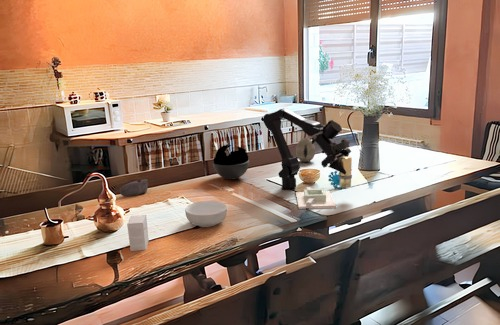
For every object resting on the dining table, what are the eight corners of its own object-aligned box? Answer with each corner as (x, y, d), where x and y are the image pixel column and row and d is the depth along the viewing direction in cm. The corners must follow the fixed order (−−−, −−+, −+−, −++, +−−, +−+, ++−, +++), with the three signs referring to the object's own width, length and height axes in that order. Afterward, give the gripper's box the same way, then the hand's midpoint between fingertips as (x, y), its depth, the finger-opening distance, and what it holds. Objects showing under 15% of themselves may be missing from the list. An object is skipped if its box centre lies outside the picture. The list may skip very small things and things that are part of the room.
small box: (133, 242, 161) (130, 215, 158) (149, 240, 161) (146, 214, 159) (130, 251, 153) (126, 223, 151) (146, 250, 154) (143, 222, 151)
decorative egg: (296, 159, 273) (295, 136, 269) (315, 159, 271) (315, 136, 268) (295, 164, 262) (295, 140, 258) (315, 164, 260) (315, 139, 256)
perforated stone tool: (121, 198, 212) (119, 185, 210) (118, 196, 216) (117, 182, 215) (151, 193, 218) (149, 180, 217) (148, 190, 223) (147, 177, 221)
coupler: (340, 187, 192) (340, 159, 189) (337, 184, 198) (338, 156, 194) (352, 187, 192) (353, 159, 189) (350, 183, 197) (351, 156, 194)
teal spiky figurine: (331, 187, 209) (327, 169, 214) (327, 193, 214) (322, 176, 219) (352, 187, 212) (347, 170, 217) (347, 193, 217) (342, 176, 222)
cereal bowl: (211, 234, 164) (209, 217, 163) (177, 227, 173) (176, 210, 171) (235, 219, 178) (235, 203, 177) (203, 213, 187) (202, 198, 185)
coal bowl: (208, 177, 243) (206, 144, 238) (241, 171, 250) (240, 140, 246) (220, 186, 225) (218, 150, 220) (256, 180, 232) (254, 146, 228)
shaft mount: (298, 209, 186) (298, 200, 185) (295, 193, 208) (295, 185, 207) (336, 208, 186) (336, 199, 185) (329, 192, 208) (329, 184, 207)
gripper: (327, 137, 184) (351, 166, 180) (347, 130, 198) (369, 157, 194) (311, 153, 191) (333, 181, 187) (332, 145, 205) (352, 171, 201)
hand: (348, 172), depth 192 cm, fingers closed on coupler, 5 cm apart
